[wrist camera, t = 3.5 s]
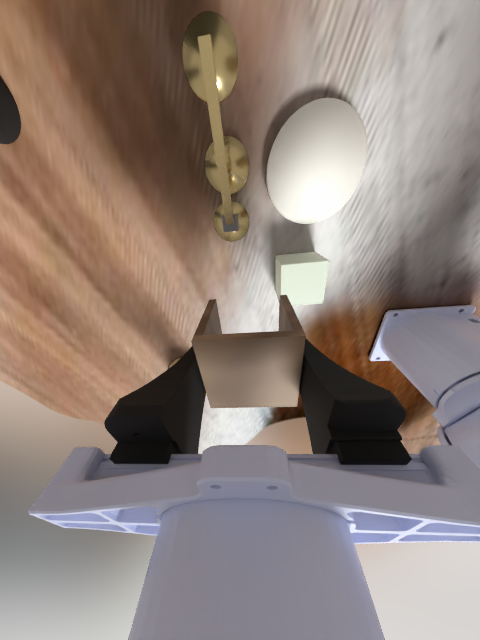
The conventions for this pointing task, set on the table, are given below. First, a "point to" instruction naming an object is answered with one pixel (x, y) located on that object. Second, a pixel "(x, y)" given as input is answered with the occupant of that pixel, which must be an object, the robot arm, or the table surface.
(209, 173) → the balance
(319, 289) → the block
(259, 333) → the cover
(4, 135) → the drinking cup
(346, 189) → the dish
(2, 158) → the table surface
